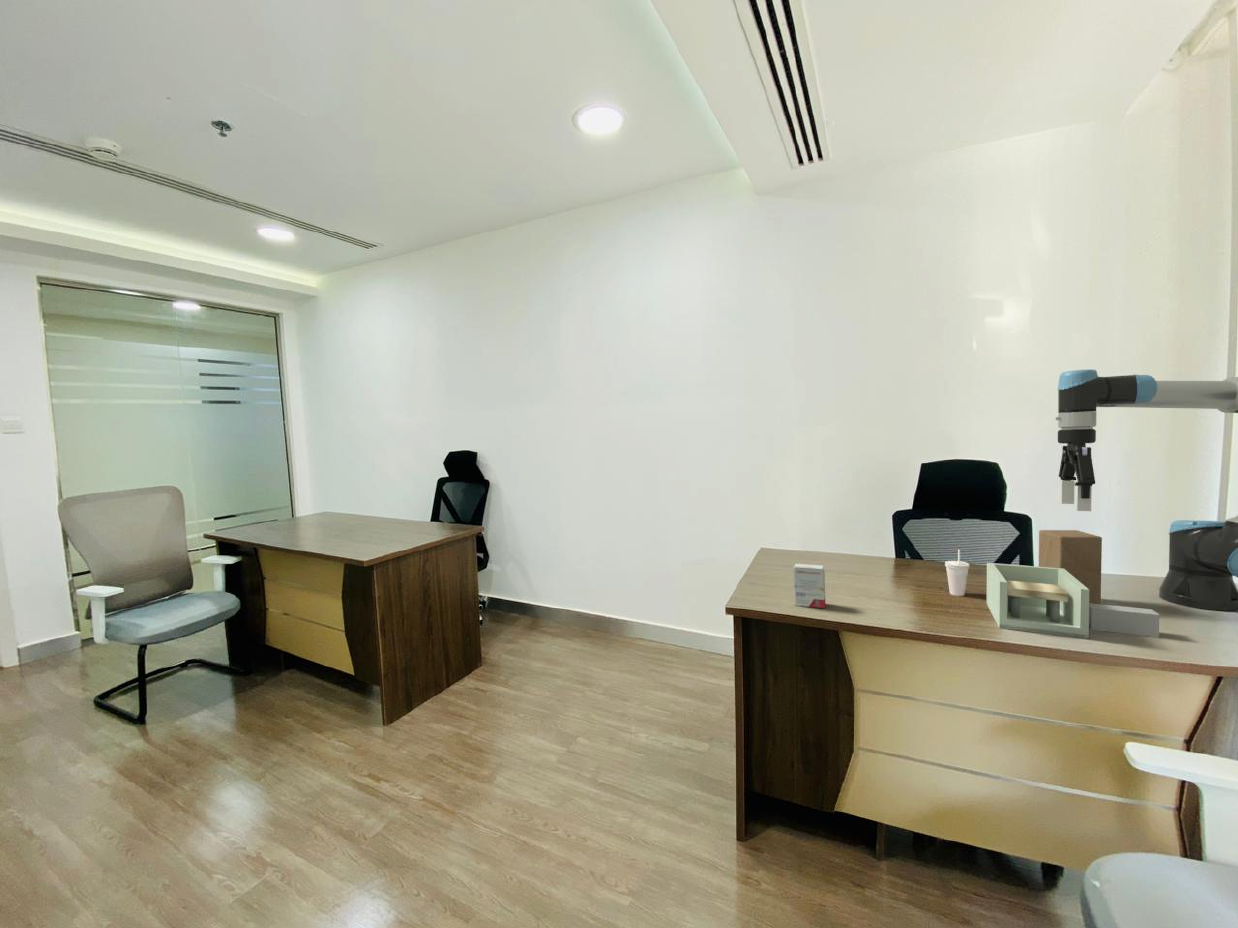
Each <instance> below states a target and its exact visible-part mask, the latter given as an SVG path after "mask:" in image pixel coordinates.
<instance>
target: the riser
mask: <svg viewBox="0 0 1238 928" xmlns="http://www.w3.org/2000/svg"><path fill="white" fill-rule="evenodd" d="M1089 629H1090V630H1091V631H1092V630H1093V631H1099V632H1100V631H1101V632H1108V633H1109V632H1110V633H1119V634H1127V635H1135V636H1143V637H1151V638H1157V639H1158V638H1160V613H1158V612H1157V611H1155V610H1154V609H1152V608H1141V607H1133V606H1132V607H1131V606H1121V605H1111V604H1110V605H1109V604H1092V603H1089Z"/></svg>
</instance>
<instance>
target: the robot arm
mask: <svg viewBox="0 0 1238 928" xmlns="http://www.w3.org/2000/svg"><path fill="white" fill-rule="evenodd" d="M1057 384H1058V385H1057V391H1058V392H1057V393H1058V395H1057V396H1058V397H1057V401H1058V405H1057V406H1058V409H1057V413H1058V415H1057V416H1055V421H1057V426H1058V428H1059V429H1058V431H1057V442H1058V444H1067V445H1062V447H1061V448H1062V452H1061V453H1062V454H1061V461H1060V466H1059V472H1058V477H1059V478H1060V504H1062V505H1075V498H1076V505H1075V506H1076V508H1075V509H1076V512H1092V490H1093V489H1092V486H1093V485H1095V484H1096V480H1095V479H1096V477H1095V473H1094V472H1095V470H1094V466H1093V465H1094V464H1093V458H1092V448H1091V446H1089V447H1087V445H1086V444H1093V443H1096V440H1097V438H1096V437H1097V430H1095V429H1096V427H1097V408H1146V409H1147V408H1148V409H1149V408H1151V409H1152V408H1154V409H1156V408H1157V409H1200V410H1201V409H1202V410H1203V409H1204V410H1205V409H1206V410H1207V409H1208V410H1209V409H1210V410H1212V409H1213V410H1215V409H1216V410H1218V411H1219V412H1221V413H1225V414H1233V413H1234V414H1238V376H1234V377H1233V376H1232V377H1231V376H1230V377H1227V378H1225V379H1223V380H1156V379H1155V378H1154V377H1153V376H1151V375H1149V374H1130V375H1128V374H1127V375H1113V376H1099V375H1098V372H1097V370H1096V369H1078V370H1077V369H1075V370H1068V371H1064V372H1062V373H1061V374H1060V375H1059V379H1058V383H1057ZM1075 475H1076V476H1075ZM1075 486H1076V497H1075ZM1168 536H1169V540H1168V541H1169V547H1168V548H1169V549H1168V550H1169V551H1168V553H1169V554H1168V572H1167V573H1166V575H1165V577H1164V579H1163V581H1162V583H1161V585H1160V587H1159V590H1158V591H1159V592H1158V596H1159V597H1160V598H1161V599H1163V600H1165V601H1167V602H1170V603H1174V604H1178V605H1181V606H1182V605H1183V606H1187V607H1192V608H1197V609H1203V610H1204V609H1205V610H1211V611H1226V612H1227V611H1230V612H1231V611H1232V612H1233V611H1238V588H1237V586H1236V583H1235V581H1234V577H1236V578H1238V515H1236V516H1233V517H1230V518H1228V519H1227V518H1226V519H1225V521H1221V520H1186V519H1185V520H1174V521H1173V522H1171V523H1170V527H1169V532H1168Z"/></svg>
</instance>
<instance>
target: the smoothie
mask: <svg viewBox="0 0 1238 928" xmlns="http://www.w3.org/2000/svg"><path fill="white" fill-rule="evenodd" d="M944 566H945V568H946V569H945V570H946V576H947V583H948V588H949V589H948V590H949V594H950V595H951V596H955V597H963V596H965V593H966V588H967V580H968V575H969V569H970V568H971V566H970V563H968V562H965V561H961V549H958V548H957V560H946V561H945V562H944Z"/></svg>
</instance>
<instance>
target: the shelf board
mask: <svg viewBox="0 0 1238 928" xmlns="http://www.w3.org/2000/svg"><path fill="white" fill-rule="evenodd" d="M1006 581H1007V596H1015V597H1025V598H1035V599H1045V600H1055V601H1065V602H1068V593H1066V592H1065V591H1064V590H1063V589H1062V588H1061V587H1060V586H1059V585H1053V584H1042V583H1031V582H1019V581H1008V580H1006Z"/></svg>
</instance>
